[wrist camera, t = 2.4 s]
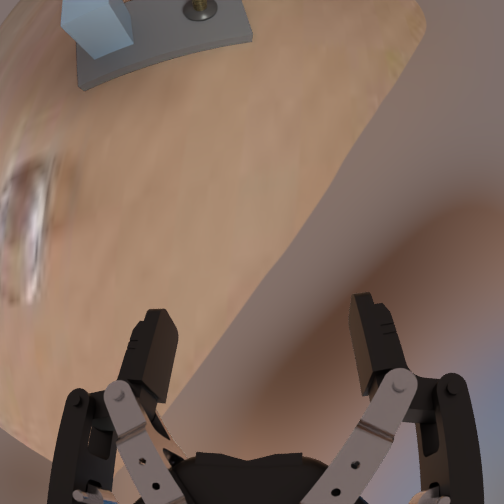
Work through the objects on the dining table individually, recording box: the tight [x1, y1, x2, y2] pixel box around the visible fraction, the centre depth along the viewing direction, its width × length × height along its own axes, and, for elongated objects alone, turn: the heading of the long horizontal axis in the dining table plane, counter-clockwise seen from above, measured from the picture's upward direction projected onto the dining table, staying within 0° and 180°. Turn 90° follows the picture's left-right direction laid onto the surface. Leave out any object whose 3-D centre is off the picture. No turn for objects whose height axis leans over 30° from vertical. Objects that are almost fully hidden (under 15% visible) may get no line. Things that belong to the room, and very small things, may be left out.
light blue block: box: [61, 0, 134, 60], centre depth 22 cm, size 6×6×10 cm
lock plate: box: [76, 0, 253, 91], centre depth 26 cm, size 23×12×4 cm, turn 103°
